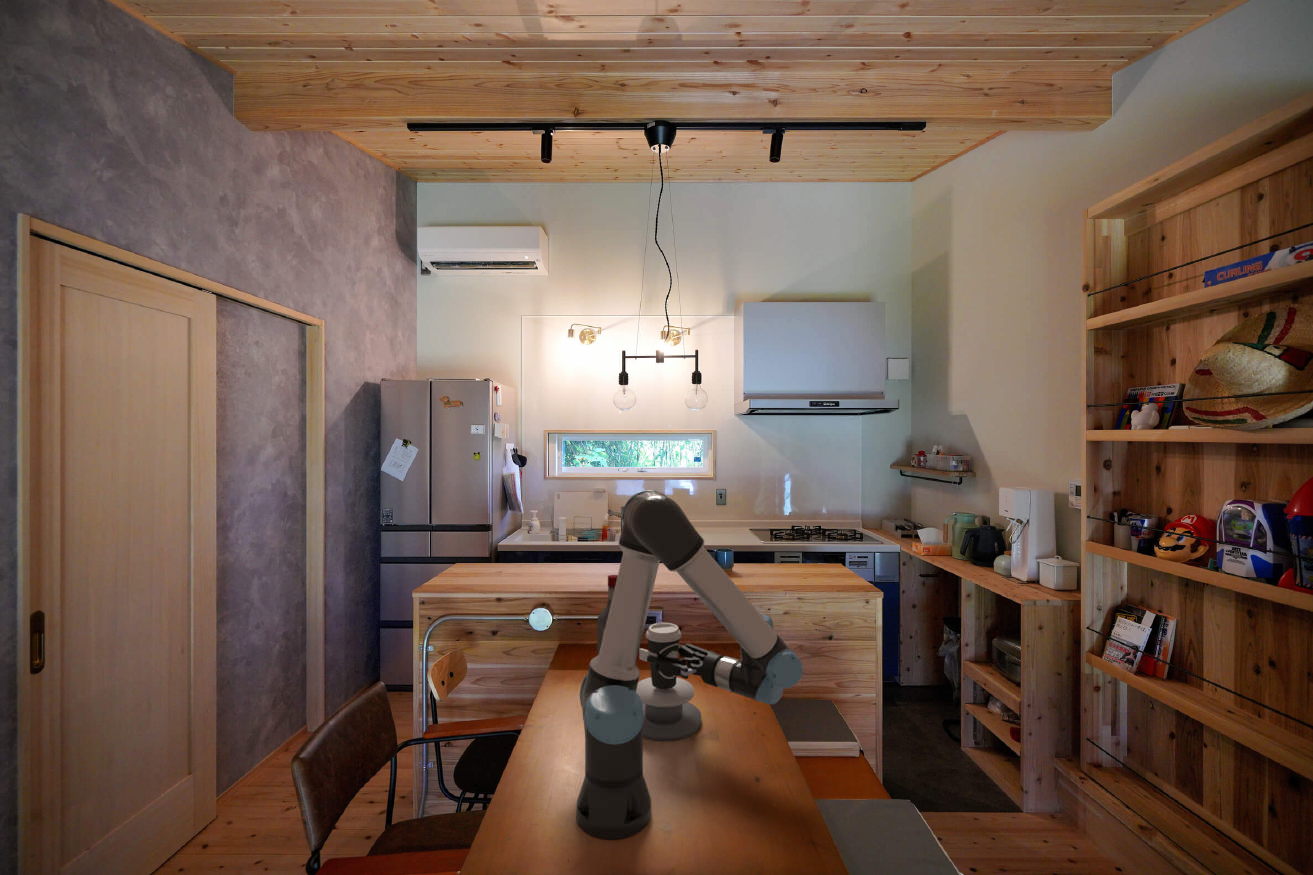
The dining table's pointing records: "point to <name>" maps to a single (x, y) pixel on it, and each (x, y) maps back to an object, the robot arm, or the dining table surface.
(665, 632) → the coffee cup
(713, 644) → the dining table surface
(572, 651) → the dining table surface
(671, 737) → the cup stand
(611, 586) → the liquor
